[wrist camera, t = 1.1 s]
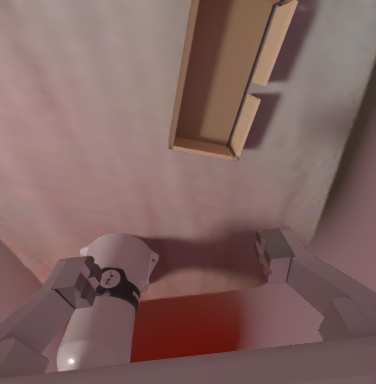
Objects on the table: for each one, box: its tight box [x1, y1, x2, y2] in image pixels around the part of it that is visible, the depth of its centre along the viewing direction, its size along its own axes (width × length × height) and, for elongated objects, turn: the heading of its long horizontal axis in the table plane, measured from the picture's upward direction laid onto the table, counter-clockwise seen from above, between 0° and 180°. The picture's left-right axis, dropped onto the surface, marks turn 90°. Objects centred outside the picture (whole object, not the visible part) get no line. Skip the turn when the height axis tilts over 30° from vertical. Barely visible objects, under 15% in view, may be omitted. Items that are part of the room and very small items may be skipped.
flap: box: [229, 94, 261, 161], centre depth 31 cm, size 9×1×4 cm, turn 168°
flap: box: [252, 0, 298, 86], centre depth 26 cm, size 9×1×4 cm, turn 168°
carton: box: [169, 0, 280, 160], centre depth 28 cm, size 20×10×5 cm, turn 168°
